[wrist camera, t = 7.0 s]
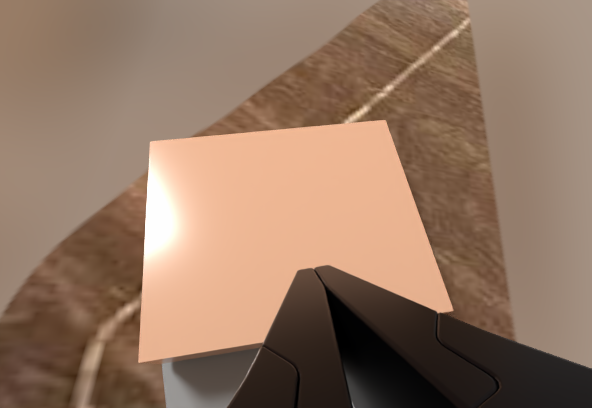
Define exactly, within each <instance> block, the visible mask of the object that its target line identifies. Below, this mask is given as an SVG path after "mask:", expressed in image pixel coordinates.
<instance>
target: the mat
mask: <svg viewBox="0 0 592 408" xmlns="http://www.w3.org/2000/svg"><path fill="white" fill-rule="evenodd" d="M260 348H261V347H260ZM260 348H254V349H248V350H242V351H236V352H230V353H224V354H218V355H212V356H206V357H200V358H194V359H188V360H182V361H176V362H170V363H164V364H162V370H163V380H164V389H165V398H166V408H227V406H228V404H229V403H230V401H231V400H232V398H233V396H234V395H235V393H236V392H237V390H238V388H239V387H240V385H241V384H242V382H243V380H244V378H245V376H246V375H247V373H248V371H249V369H250V367H251V365H252V363H253V361H254V359H255V357H256V355H257V353H258V351H259V349H260ZM351 401H352V400H351ZM352 405H353V402H352ZM353 408H355V407H354V405H353Z"/></svg>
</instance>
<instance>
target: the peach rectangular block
mask: <svg viewBox="0 0 592 408" xmlns="http://www.w3.org/2000/svg"><path fill="white" fill-rule="evenodd" d="M324 265H330V266H333V267H335V268H337V269H340V270H342V271H344V272H347V273H349V274H351V275H354V276H356V277H358V278H361V279H363V280H365V281H368V282H370V283H372V284H375V285H377V286H379V287H382V288H384V289H386V290H389V291H391V292H393V293H396V294H398V295H400V296H403V297H405V298H407V299H409V300H412V301H414V302H416V303H419V304H421V305H423V306H426V307H428V308H430V309H433V310H435V311H437V313H439V312H441V313H444V314H446V313H449V312H452V311H454V310H453V308H452V305H451V302H450V299H449V296H448V294H447V291H446V288H445V285H444V282H443V280H442V277H441V274H440V271H439V268H438V266H437V263H436V260H435V257H434V254H433V252H432V249H431V246H430V243H429V241H428V238H427V235H426V232H425V229H424V227H423V224H422V221H421V218H420V215H419V213H418V210H417V207H416V204H415V201H414V199H413V196H412V193H411V190H410V187H409V185H408V182H407V179H406V176H405V174H404V171H403V168H402V165H401V162H400V160H399V157H398V154H397V151H396V148H395V146H394V143H393V140H392V137H391V134H390V132H389V129H388V126H387V123H386V120H379V121H369V122H358V123H347V124H336V125H325V126H314V127H303V128H293V129H282V130H271V131H260V132H249V133H238V134H227V135H216V136H206V137H195V138H184V139H173V140H162V141H152V142H150V155H149V174H148V192H147V211H146V230H145V249H144V268H143V286H142V305H141V324H140V343H139V362H138V363H153V364H164V363H170V362H176V361H182V360H188V359H194V358H200V357H206V356H212V355H218V354H224V353H230V352H236V351H242V350H248V349H254V348H260V347H261V346H262V344H263V342H264V340H265V337H266V335H267V333H268V331H269V329H270V327H271V325H272V323H273V321H274V319H275V316H276V314H277V312H278V310H279V308H280V306H281V304H282V302H283V300H284V298H285V296H286V293H287V291H288V289H289V287H290V285H291V283H292V281H293V279H294V277H295V275H296V272H297V271H298V270H301V269H307V268H313V269H314V268H315V267H318V266H324Z"/></svg>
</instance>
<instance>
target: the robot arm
mask: <svg viewBox="0 0 592 408" xmlns="http://www.w3.org/2000/svg"><path fill="white" fill-rule="evenodd" d="M351 400H352V401H351ZM352 402H353V405H354V407H355V408H592V369H591V368H588V367H586V366H583V365H580V364H577V363H574V362H571V361H569V360H566V359H563V358H560V357H557V356H554V355H552V354H549V353H546V352H543V351H540V350H537V349H534V348H532V347H529V346H526V345H523V344H520V343H517V342H515V341H512V340H509V339H507V338H504V337H501V336H498V335H496V334H493V333H490V332H487V331H485V330H482V329H480V328H477V327H475V326H472V325H470V324H467V323H465V322H463V321H460V320H458V319H455V318H453V317H451V316H448V315H446V314H444V313H441V312H439V313H437V311H435V310H433V309H430V308H428V307H426V306H423V305H421V304H419V303H416V302H414V301H412V300H409V299H407V298H405V297H403V296H400V295H398V294H396V293H393V292H391V291H389V290H386V289H384V288H382V287H379V286H377V285H375V284H372V283H370V282H368V281H365V280H363V279H361V278H358V277H356V276H354V275H351V274H349V273H347V272H344V271H342V270H340V269H337V268H335V267H333V266H330V265H324V266H318V267H315V268H314V269H313V268H307V269H301V270H298V271H297V272H296V275H295V277H294V279H293V281H292V283H291V285H290V287H289V289H288V291H287V293H286V296H285V298H284V300H283V302H282V304H281V306H280V308H279V310H278V312H277V314H276V316H275V319H274V321H273V323H272V325H271V327H270V329H269V331H268V333H267V335H266V337H265V340H264V342H263V344H262V346H261V348H260V349H259V351H258V353H257V355H256V357H255V359H254V361H253V363H252V365H251V367H250V369H249V371H248V373H247V375H246V376H245V378H244V380H243V382H242V384H241V385H240V387H239V388H238V390H237V392H236V393H235V395H234V396H233V398H232V400H231V401H230V403H229V404H228V406H227V408H353V405H352Z"/></svg>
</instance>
